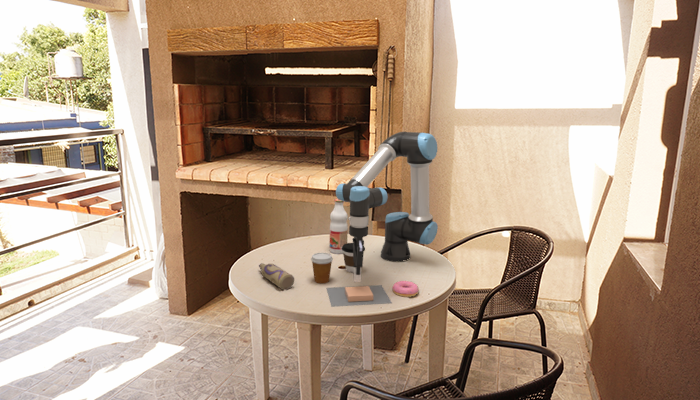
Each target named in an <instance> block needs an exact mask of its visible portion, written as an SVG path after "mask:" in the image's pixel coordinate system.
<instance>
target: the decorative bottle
mask: <svg viewBox="0 0 700 400" xmlns="http://www.w3.org/2000/svg"><path fill="white" fill-rule="evenodd" d="M258 268H259V269H260V270H261V276H263V277H264V278H266V279H267V280H269V282H272V284H274V285H275V286H277V287H278V288H280V289H281V290H284V291H286V290H289V289H291V288H292V287H293V285H294V283H295V278H294V275H293V274H290V273H289V272H287V271H286V270H284V269H283V268H281V267H279V266H278V265H276V264H274V263H264V262H261V263H260V264H258Z"/></svg>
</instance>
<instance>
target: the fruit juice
mask: <svg viewBox="0 0 700 400" xmlns="http://www.w3.org/2000/svg"><path fill="white" fill-rule="evenodd" d="M333 202H334V206H333V210H332V211H331V212H330V215H329V216H330V217H329V219H330V223H329V252H330V253H332V254H335V255H336V254H338V255H341V254H343V253H344V252H343V250H342V247H343V245H344V244H347V243H348V235H349V234H348V233H349V228H348V225H349V224H348V222H347V221H348V218H349V217H348V213H347V211H346V210H345V208H344V201H341V200H339V199H338V198H335V199H334V201H333Z"/></svg>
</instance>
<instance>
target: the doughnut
mask: <svg viewBox="0 0 700 400" xmlns="http://www.w3.org/2000/svg"><path fill="white" fill-rule="evenodd" d="M391 288H392V291H393V294H395V295H397V296H399V297H404V298H412V297H411V296H413V297H415V296H417V295H418V294H419V291H420V288H419V285H418V284H416V283H415V282H412V281H409V280H399V281H397V282H395V283H394V284H393V285H392V287H391ZM416 294H417V295H416Z"/></svg>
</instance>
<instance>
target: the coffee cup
mask: <svg viewBox="0 0 700 400" xmlns="http://www.w3.org/2000/svg"><path fill="white" fill-rule="evenodd" d="M363 246H364V252H365V251H366V247H365V244H364V245H363ZM342 250H343V252H344V253H342V254H343V261H344V266H345V270H346V272H348V273H353V274H354V267H353V265H354V262H353V242H347V244H344V245H343V247H342Z"/></svg>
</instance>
